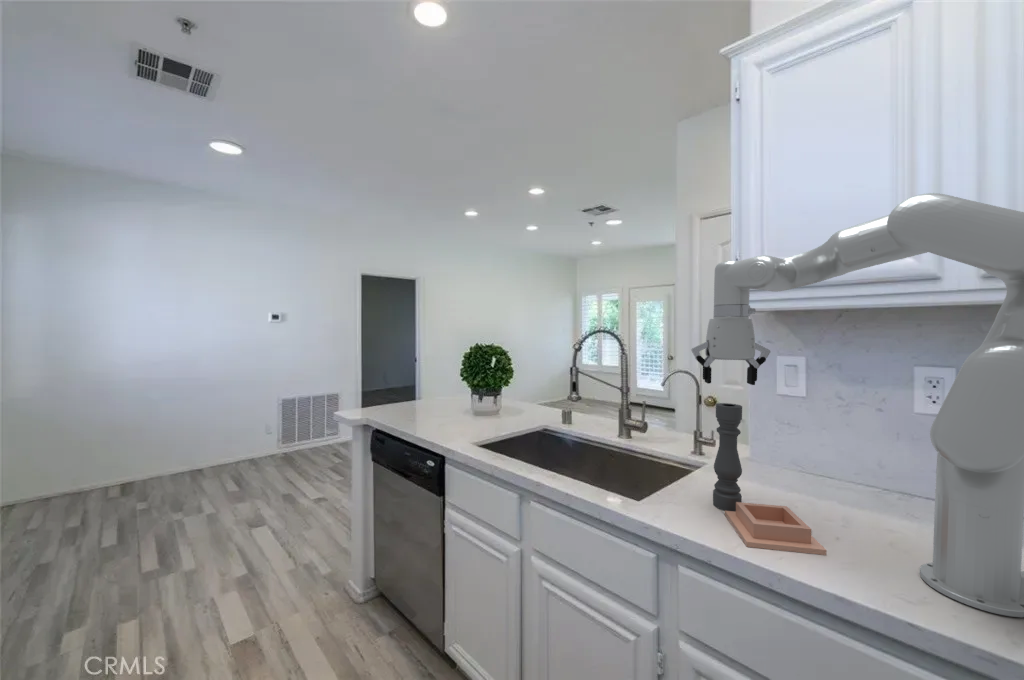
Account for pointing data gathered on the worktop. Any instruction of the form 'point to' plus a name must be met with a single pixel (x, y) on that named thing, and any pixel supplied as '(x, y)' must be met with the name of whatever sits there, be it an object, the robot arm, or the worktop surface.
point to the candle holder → (727, 457)
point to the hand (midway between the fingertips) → (729, 383)
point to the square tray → (773, 528)
